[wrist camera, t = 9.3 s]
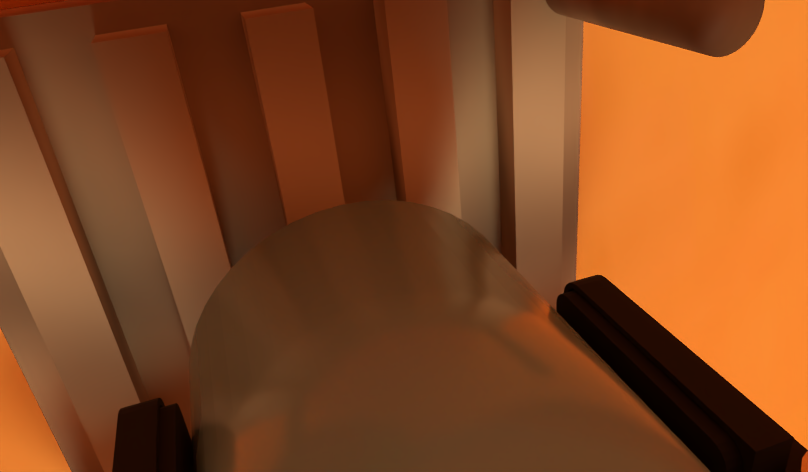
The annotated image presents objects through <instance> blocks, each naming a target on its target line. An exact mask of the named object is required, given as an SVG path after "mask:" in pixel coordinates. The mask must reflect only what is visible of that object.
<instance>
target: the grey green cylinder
mask: <svg viewBox="0 0 808 472" xmlns="http://www.w3.org/2000/svg"><path fill="white" fill-rule="evenodd" d="M189 386H190V409H191V433H192V456H193V472H711V471H710V470H709V469H708V468H707V467H706V466H705V465H704V464H703V463H702V462H701V461H700V460H699V459H698V458H697V457H696V456H695V455H694V454H693V453H692V452H691V451H690V450H689V449H688V447H687V446H686V445H685V444H684V443H683V442H682V441H681V440H680V439H679V438H678V437H677V436H676V435H675V434H674V433H673V432H672V431H671V430H670V429H669V428H668V427H667V426H666V425H665V424H664V423H663V422H662V420H661V419H660V418H659V417H658V416H657V415H656V414H655V413H654V412H653V411H652V410H651V409H650V408H649V407H648V406H647V405H646V404H645V403H644V402H643V401H642V400H641V399H640V398H639V397H638V396H637V395H636V393H635V392H634V391H633V390H632V389H631V388H630V387H629V386H628V385H627V384H626V383H625V382H624V381H623V380H622V379H621V378H620V377H619V376H618V375H617V374H616V373H615V372H614V371H613V370H612V369H611V367H610V366H609V365H608V364H607V363H606V362H605V361H604V360H603V359H602V358H601V357H600V356H599V355H598V354H597V353H596V352H595V351H594V350H593V349H592V348H591V347H590V346H589V345H588V344H587V343H586V342H585V340H584V339H583V338H582V337H581V336H580V335H579V334H578V333H577V332H576V331H575V330H574V329H573V328H572V327H571V326H570V325H569V324H568V323H567V322H566V321H565V320H564V319H563V318H562V317H561V316H560V315H559V313H558V312H557V311H556V310H555V309H554V308H553V307H552V306H551V305H550V304H549V303H548V302H547V301H546V300H545V299H544V298H543V297H542V296H541V295H540V294H539V293H538V292H537V291H536V290H535V289H534V288H533V286H532V285H531V284H530V283H529V282H528V281H527V280H526V279H525V278H524V277H523V276H522V275H521V274H520V273H519V272H518V271H517V270H516V269H515V268H514V267H513V266H512V265H511V264H510V263H509V262H508V260H507V259H506V258H505V257H504V256H503V255H502V254H501V253H500V252H499V251H498V250H497V249H496V248H495V247H494V246H493V245H492V244H491V243H490V242H489V241H488V240H487V239H486V238H485V237H484V236H483V235H482V234H481V233H480V232H478V231H477V230H476V229H475V228H473V227H472V226H471V225H470V224H468V223H467V222H465V221H463V220H461V219H459V218H458V217H456V216H454V215H452V214H450V213H448V212H445V211H442V210H440V209H437V208H434V207H431V206H427V205H423V204H418V203H414V202H406V201H395V200H375V201H361V202H355V203H349V204H343V205H339V206H335V207H332V208H328V209H325V210H322V211H318V212H315V213H313V214H311V215H308V216H306V217H303V218H301V219H299V220H296V221H294V222H292V223H290V224H289V225H287V226H285V227H283V228H282V229H280V230H278V231H276V232H275V233H273V234H271V235H270V236H268V237H267V238H266V239H264V240H263V241H262V242H260V243H259V244H257V245H256V246H255V247H253V248H252V249H251V250H250V251H249V252H248V253H246V254H245V255H244V256H243V257H242V258H241V259H240V260H239V261H238V262H237V263H236V264H235V265H234V266H233V267H232V268H231V269H230V270H229V272H228V273H227V274H226V275H225V277H224V278H223V279H222V280H221V281H220V283H219V284H218V285H217V287H216V288H215V290H214V292H213V293H212V295H211V296H210V298H209V300H208V301H207V303H206V305H205V307H204V309H203V311H202V313H201V316H200V318H199V320H198V323H197V325H196V328H195V332H194V336H193V340H192V343H191V348H190V358H189Z"/></svg>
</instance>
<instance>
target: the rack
mask: <svg viewBox="0 0 808 472" xmlns="http://www.w3.org/2000/svg"><path fill="white" fill-rule="evenodd" d="M764 2H765V0H66V1H59V2H52V3H45V4H38V5H31V6H24V7H17V8H10V9H3V10H0V328H1V330H2V332H3V334H4V336H5V338H6V340H7V342H8V344H9V346H10V348H11V350H12V352H13V354H14V356H15V358H16V360H17V362H18V364H19V366H20V368H21V370H22V372H23V374H24V376H25V378H26V380H27V382H28V384H29V386H30V388H31V390H32V392H33V394H34V396H35V398H36V400H37V402H38V404H39V406H40V408H41V410H42V412H43V415H44V417H45V419H46V421H47V423H48V425H49V427H50V429H51V431H52V433H53V435H54V437H55V439H56V441H57V443H58V445H59V447H60V449H61V451H62V453H63V455H64V457H65V459H66V461H67V463H68V465H69V467H70V469H71V471H72V472H112V468H113V458H114V448H115V438H116V429H117V419H118V412H119V410H120V409H121V408H124V407H127V406H131V405H134V404H138V403H141V402H145V401H149V400H152V399H156V398H161V399H162V401H163V402H164V405H165V406H168V405H171V404H175V403H177V404H178V405H179V407H180V410H181V412H182V415H183V418H184V421H185V424H186V426H187V429H188V432H189V435H190V438H191V440H192V433H191V409H190V386H189V358H190V348H191V343H192V340H193V336H194V332H195V328H196V325H197V323H198V320H199V318H200V316H201V313H202V311H203V309H204V307H205V305H206V303H207V301H208V300H209V298H210V296H211V295H212V293H213V292H214V290H215V288H216V287H217V285H218V284H219V283H220V281H221V280H222V279H223V278H224V277H225V275H226V274H227V273H228V272H229V270H230V269H231V268H232V267H233V266H234V265H235V264H236V263H237V262H238V261H239V260H240V259H241V258H242V257H243V256H244V255H245V254H246V253H248V252H249V251H250V250H251V249H252V248H253V247H255V246H256V245H257V244H259V243H260V242H262V241H263V240H264V239H266V238H267V237H268V236H270V235H271V234H273V233H275V232H276V231H278V230H280V229H282V228H283V227H285V226H287V225H289V224H290V223H292V222H294V221H296V220H299V219H301V218H303V217H306V216H308V215H311V214H313V213H315V212H318V211H322V210H325V209H328V208H332V207H335V206H339V205H343V204H349V203H355V202H361V201H375V200H395V201H406V202H414V203H418V204H423V205H427V206H431V207H434V208H437V209H440V210H442V211H445V212H448V213H450V214H452V215H454V216H456V217H458V218H459V219H461V220H463V221H465V222H467V223H468V224H470V225H471V226H472V227H473V228H475V229H476V230H477V231H478V232H480V233H481V234H482V235H483V236H484V237H485V238H486V239H487V240H488V241H489V242H490V243H491V244H492V245H493V246H494V247H495V248H496V249H497V250H498V251H499V252H500V253H501V254H502V255H503V256H504V257H505V258H506V259H507V260H508V262H509V263H510V264H511V265H512V266H513V267H514V268H515V269H516V270H517V271H518V272H519V273H520V274H521V275H522V276H523V277H524V278H525V279H526V280H527V281H528V282H529V283H530V284H531V285H532V286H533V288H534V289H535V290H536V291H537V292H538V293H539V294H540V295H541V296H542V297H543V298H544V299H545V300H546V301H547V302H548V303H549V304H550V305H551V306H552V307H553V308H554V309H555V310H556V302H557V297H558V295H560V294H563V293H564V288H565V286H566V284H568V283H570V282H573V281H576V255H577V222H578V188H579V154H580V120H581V86H582V52H583V21H585V22H588V23H592V24H596V25H599V26H603V27H607V28H610V29H614V30H618V31H621V32H625V33H629V34H632V35H636V36H640V37H643V38H647V39H650V40H654V41H658V42H661V43H665V44H669V45H672V46H676V47H680V48H683V49H687V50H691V51H694V52H698V53H702V54H705V55H709V56H713V57H722V56H726V55H729V54H731V53H733V52H735V51H737V50H738V49H739V48H741V47H742V46H743V45H744V44H745V43H746V42H747V41H748V40H749V39H750V37H751V36H752V35H753V33H754V32H755V30H756V28H757V26H758V24H759V22H760V20H761V17H762V13H763V9H764Z"/></svg>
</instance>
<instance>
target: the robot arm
mask: <svg viewBox="0 0 808 472" xmlns="http://www.w3.org/2000/svg"><path fill="white" fill-rule="evenodd" d="M556 311H557V312H558V313H559V315H560V316H561V317H562V318H563V319H564V320H565V321H566V322H567V323H568V324H569V325H570V326H571V327H572V328H573V329H574V330H575V331H576V332H577V333H578V334H579V335H580V336H581V337H582V338H583V339H584V340H585V342H586V343H587V344H588V345H589V346H590V347H591V348H592V349H593V350H594V351H595V352H596V353H597V354H598V355H599V356H600V357H601V358H602V359H603V360H604V361H605V362H606V363H607V364H608V365H609V366H610V367H611V369H612V370H613V371H614V372H615V373H616V374H617V375H618V376H619V377H620V378H621V379H622V380H623V381H624V382H625V383H626V384H627V385H628V386H629V387H630V388H631V389H632V390H633V391H634V392H635V393H636V395H637V396H638V397H639V398H640V399H641V400H642V401H643V402H644V403H645V404H646V405H647V406H648V407H649V408H650V409H651V410H652V411H653V412H654V413H655V414H656V415H657V416H658V417H659V418H660V419H661V420H662V422H663V423H664V424H665V425H666V426H667V427H668V428H669V429H670V430H671V431H672V432H673V433H674V434H675V435H676V436H677V437H678V438H679V439H680V440H681V441H682V442H683V443H684V444H685V445H686V446H687V447H688V449H689V450H690V451H691V452H692V453H693V454H694V455H695V456H696V457H697V458H698V459H699V460H700V461H701V462H702V463H703V464H704V465H705V466H706V467H707V468H708V469H709V470H710V471H711V472H808V450H807V449H806V448H804V447H803V446H802V445H801V444H800V443H799V442H797V441H796V440H795V439H794V437H792V436H791V435H790V434H789V433H788V432H787V431H785V430H784V429H783V428H782V427H781V426H780V425H778V424H777V423H776V422H775V421H774V420H772V419H771V418H770V417H769V416H768V415H767V414H765V413H764V412H763V411H762V410H761V409H759V408H758V407H757V406H756V405H755V404H754V403H752V402H751V401H750V400H749V399H748V398H747V397H745V396H744V395H743V394H742V393H741V392H739V391H738V390H737V389H736V388H735V387H734V386H732V385H731V384H730V383H729V382H728V381H726V380H725V379H724V378H723V377H722V376H721V375H719V374H718V373H717V372H716V371H715V370H714V369H712V368H711V367H710V366H709V365H708V364H706V363H705V362H704V361H703V360H702V359H701V358H699V357H698V356H697V355H696V354H695V353H693V352H692V351H691V350H690V349H689V348H688V347H686V346H685V345H684V344H683V343H682V342H681V341H679V340H678V339H677V338H676V337H675V336H673V335H672V334H671V333H670V332H669V331H668V330H666V329H665V328H664V327H663V326H662V325H660V324H659V323H658V322H657V321H656V320H655V319H653V318H652V317H651V316H650V315H649V314H648V313H646V312H645V311H644V310H643V309H642V308H640V307H639V306H638V305H637V304H636V303H635V302H633V301H632V300H631V299H630V298H629V297H627V296H626V295H625V294H624V293H623V292H622V291H620V290H619V289H618V288H617V287H616V286H615V285H613V284H612V283H611V282H610V281H609V280H607V279H606V278H605V277H603V276H602V275H595V276H591V277H588V278H584V279H580V280H577V281H573V282H570V283H568V284H566V286H565V288H564V293H563V294H560V295H558V297H557V302H556ZM112 472H193V456H192V440H191V438H190V435H189V432H188V429H187V426H186V424H185V421H184V418H183V415H182V412H181V410H180V407H179V405H178V404H177V403H175V404H171V405H168V406H165V405H164V402H163V401H162V399H161V398H156V399H152V400H149V401H145V402H141V403H138V404H134V405H131V406H127V407H124V408H121V409H120V410H119V412H118V419H117V429H116V438H115V448H114V458H113V468H112Z"/></svg>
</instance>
